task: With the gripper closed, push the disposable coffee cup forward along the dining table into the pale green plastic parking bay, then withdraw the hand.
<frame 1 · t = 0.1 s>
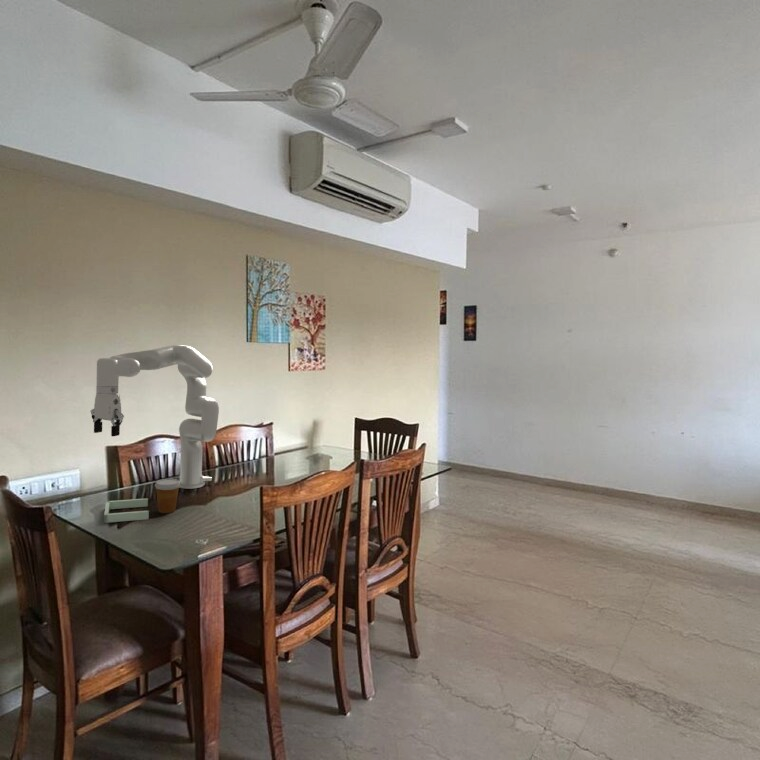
hand: (106, 434, 203), 31 cm above the table, tool pointing down, fingers open, 9 cm apart
bay: (128, 513, 205), on the table
disposable coffee cup: (166, 511, 211), on the table
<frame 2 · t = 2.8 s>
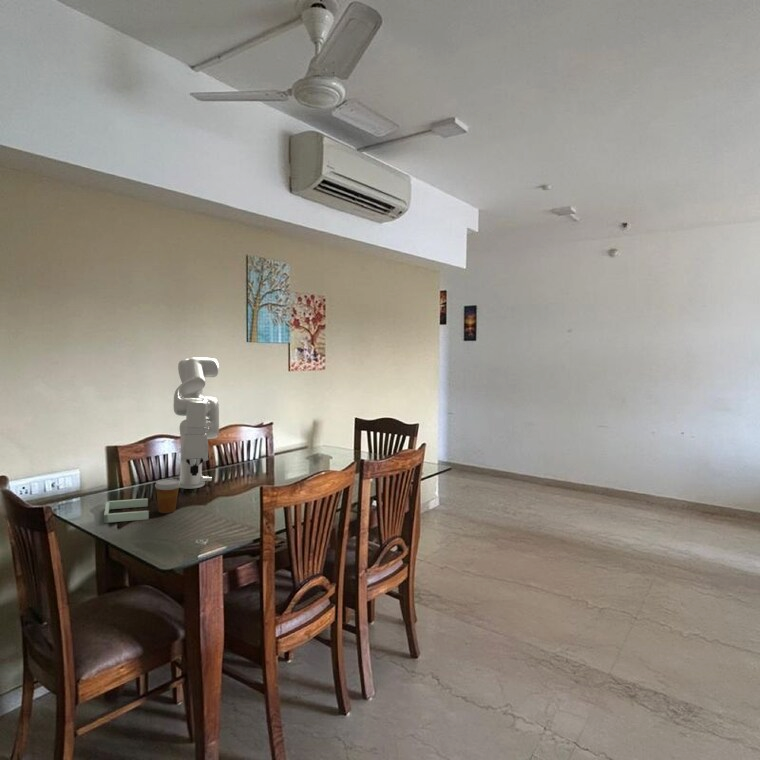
hand: (194, 474, 214), 14 cm above the table, tool pointing down, fingers closed
nothing on the table moved.
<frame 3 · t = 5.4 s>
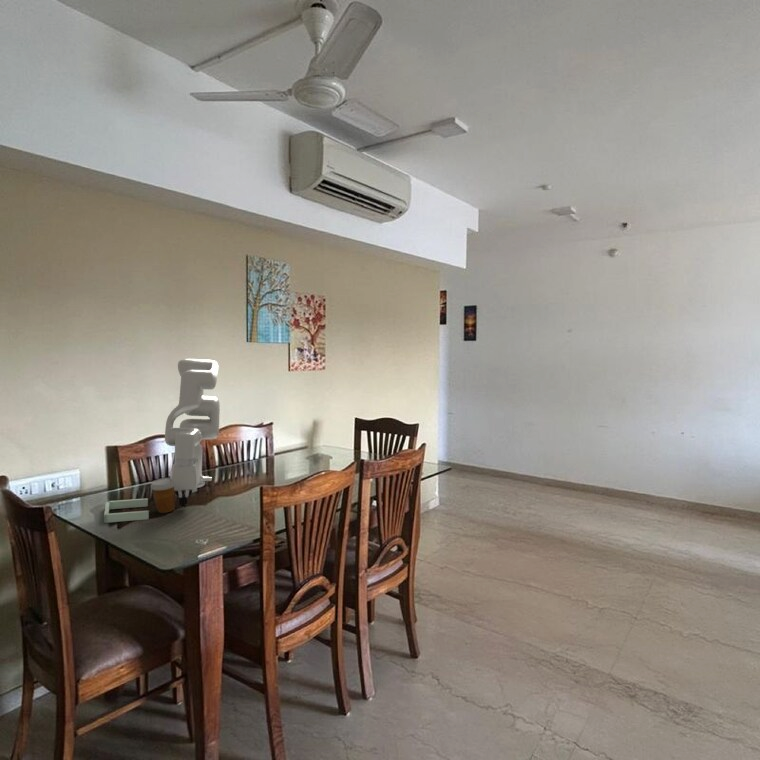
hand: (182, 506, 213), 1 cm above the table, tool pointing down, fingers closed
disposable coffee cup: (166, 510, 211), on the table, touching gripper
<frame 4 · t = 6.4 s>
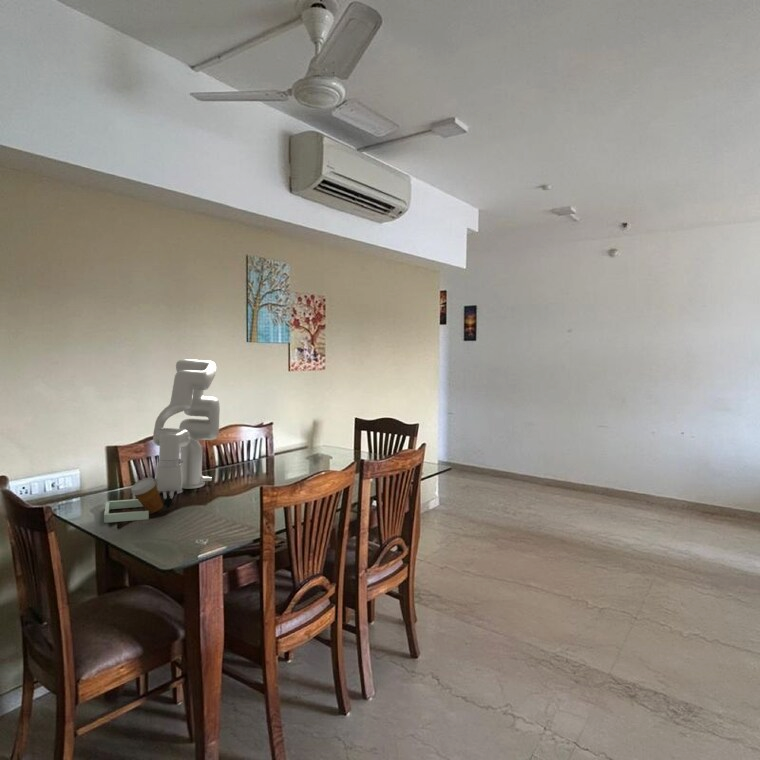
hand: (167, 507, 211), 1 cm above the table, tool pointing down, fingers closed
disposable coffee cup: (155, 508, 209), point 1 cm above the table, touching gripper
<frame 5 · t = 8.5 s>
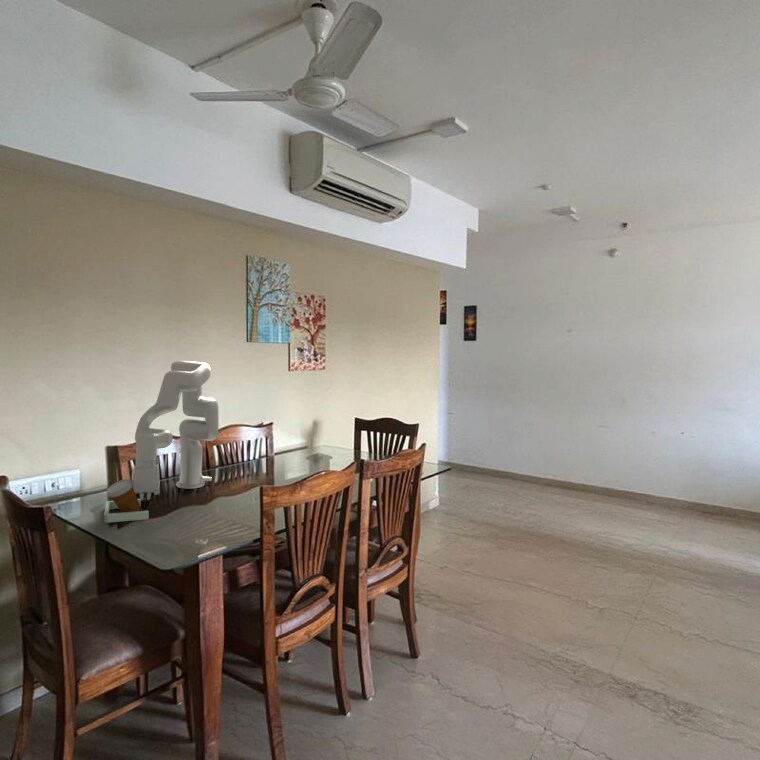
hand: (144, 508, 207), 2 cm above the table, tool pointing down, fingers closed
disposable coffee cup: (132, 510, 205), point 1 cm above the table, touching gripper
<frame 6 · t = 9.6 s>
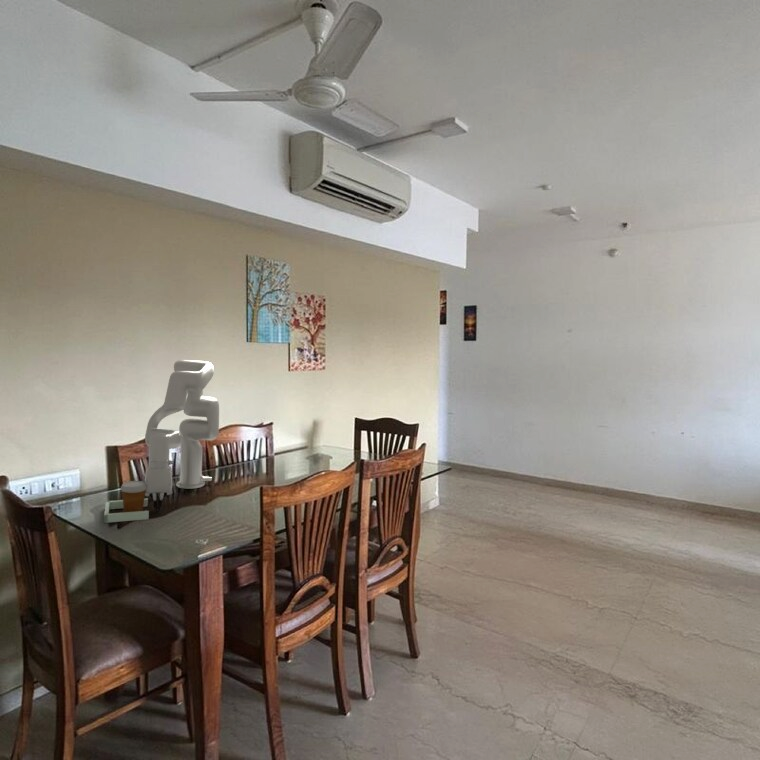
hand: (157, 508, 210), 1 cm above the table, tool pointing down, fingers closed
disposable coffee cup: (133, 514, 205), on the table
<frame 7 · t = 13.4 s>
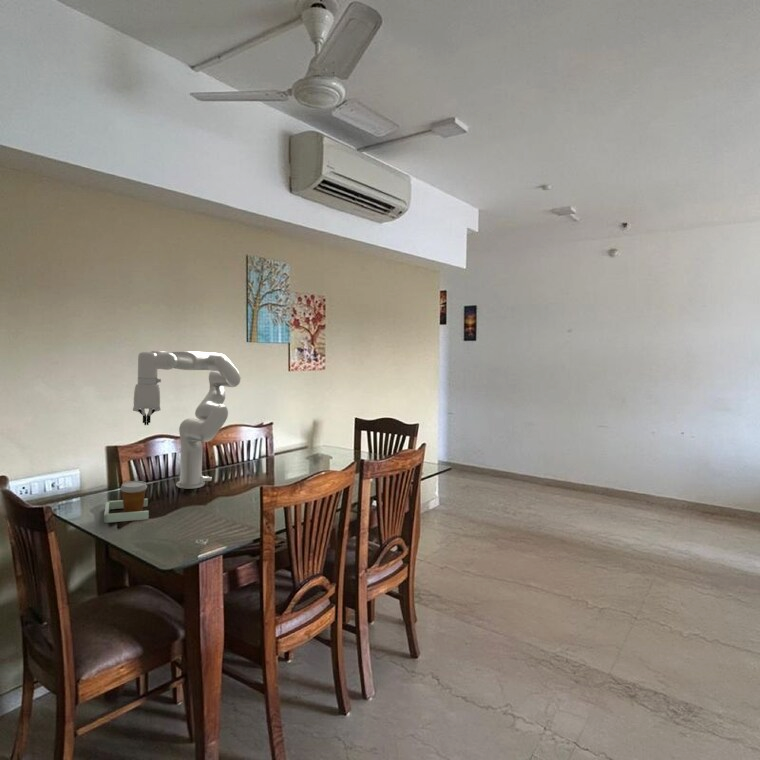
hand: (146, 424, 221), 32 cm above the table, tool pointing down, fingers closed
nothing on the table moved.
at the end: disposable coffee cup inside the target area on the bay (2.5 cm from its centre), point 0.0 cm above the bay's base; disposable coffee cup tilted 0°; disposable coffee cup touching table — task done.
